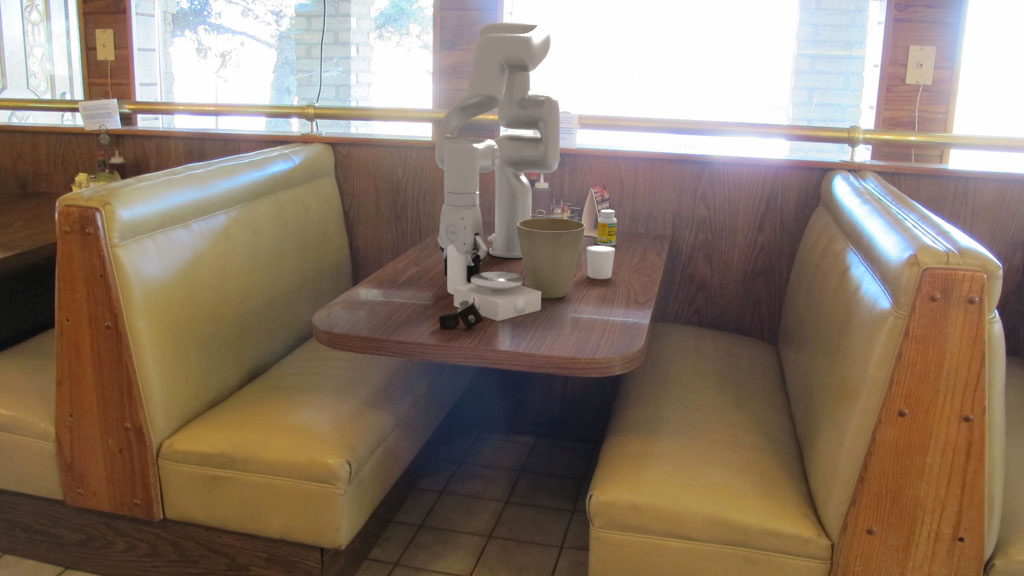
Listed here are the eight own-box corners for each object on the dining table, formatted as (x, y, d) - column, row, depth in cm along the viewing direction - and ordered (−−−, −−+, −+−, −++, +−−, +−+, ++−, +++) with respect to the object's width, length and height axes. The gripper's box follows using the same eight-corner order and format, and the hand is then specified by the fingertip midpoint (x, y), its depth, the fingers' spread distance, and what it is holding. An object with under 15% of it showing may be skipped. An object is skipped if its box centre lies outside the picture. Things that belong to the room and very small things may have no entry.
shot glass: (612, 280, 200) (613, 251, 199) (583, 278, 202) (584, 250, 200) (614, 273, 207) (616, 245, 205) (587, 271, 208) (588, 244, 206)
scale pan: (460, 285, 176) (460, 277, 176) (499, 277, 183) (499, 269, 183) (495, 296, 168) (495, 288, 168) (534, 287, 176) (534, 279, 175)
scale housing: (452, 306, 178) (452, 287, 177) (496, 295, 186) (496, 278, 185) (497, 321, 168) (497, 302, 167) (541, 310, 176) (542, 291, 175)
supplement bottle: (605, 241, 243) (606, 208, 241) (619, 244, 240) (621, 210, 237) (593, 243, 240) (594, 210, 237) (607, 246, 236) (609, 213, 233)
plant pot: (503, 290, 191) (504, 220, 186) (558, 282, 198) (560, 215, 194) (538, 307, 178) (540, 233, 174) (595, 298, 185) (598, 227, 181)
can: (447, 288, 191) (446, 236, 188) (475, 288, 192) (475, 236, 189) (447, 296, 185) (447, 243, 182) (476, 296, 185) (477, 243, 182)
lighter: (448, 341, 163) (433, 320, 162) (449, 338, 165) (435, 316, 164) (483, 321, 162) (468, 299, 160) (484, 318, 164) (469, 296, 162)
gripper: (423, 196, 186) (424, 273, 191) (474, 206, 174) (474, 289, 179) (450, 192, 191) (450, 268, 196) (501, 203, 179) (500, 283, 184)
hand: (461, 278), depth 187 cm, fingers open, 7 cm apart
